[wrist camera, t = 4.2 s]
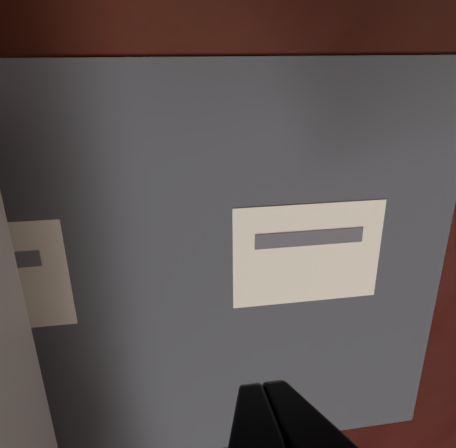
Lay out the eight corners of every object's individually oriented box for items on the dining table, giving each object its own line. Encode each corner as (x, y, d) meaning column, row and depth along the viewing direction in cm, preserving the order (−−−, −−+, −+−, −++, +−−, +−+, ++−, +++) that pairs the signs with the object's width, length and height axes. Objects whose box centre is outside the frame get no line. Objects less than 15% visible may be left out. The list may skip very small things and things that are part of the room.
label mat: (479, 54, 12) (486, 54, 11) (409, 416, 17) (412, 421, 16) (-316, 60, 9) (-330, 60, 9) (-118, 491, 14) (-123, 498, 14)
